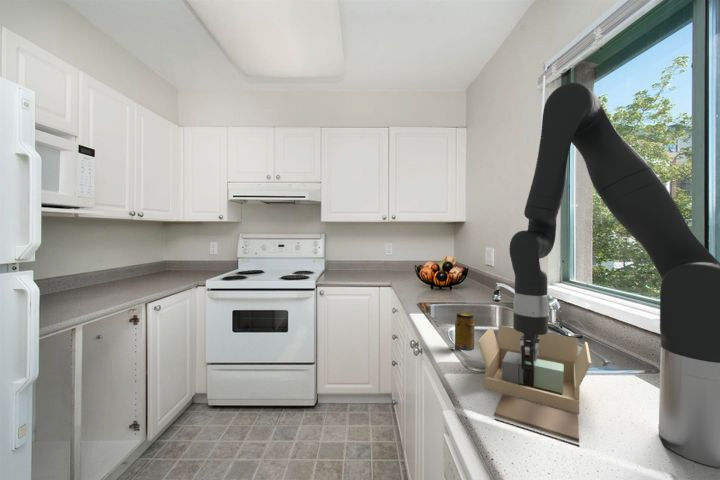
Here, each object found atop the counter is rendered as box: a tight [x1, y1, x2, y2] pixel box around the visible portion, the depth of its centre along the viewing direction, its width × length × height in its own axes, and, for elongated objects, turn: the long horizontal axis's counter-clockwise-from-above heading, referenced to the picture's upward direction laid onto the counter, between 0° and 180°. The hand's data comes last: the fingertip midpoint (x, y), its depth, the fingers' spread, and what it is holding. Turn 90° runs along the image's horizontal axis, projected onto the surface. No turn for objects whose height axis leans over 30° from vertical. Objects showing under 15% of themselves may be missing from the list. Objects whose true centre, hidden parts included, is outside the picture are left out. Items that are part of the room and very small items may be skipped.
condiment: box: [448, 311, 475, 352], centre depth 100 cm, size 7×8×12 cm
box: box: [502, 351, 564, 393], centre depth 76 cm, size 12×8×5 cm, turn 56°
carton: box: [477, 325, 592, 415], centre depth 76 cm, size 22×18×12 cm
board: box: [494, 393, 580, 448], centre depth 63 cm, size 14×9×2 cm, turn 56°
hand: (529, 380), depth 76 cm, fingers closed on box, 5 cm apart
